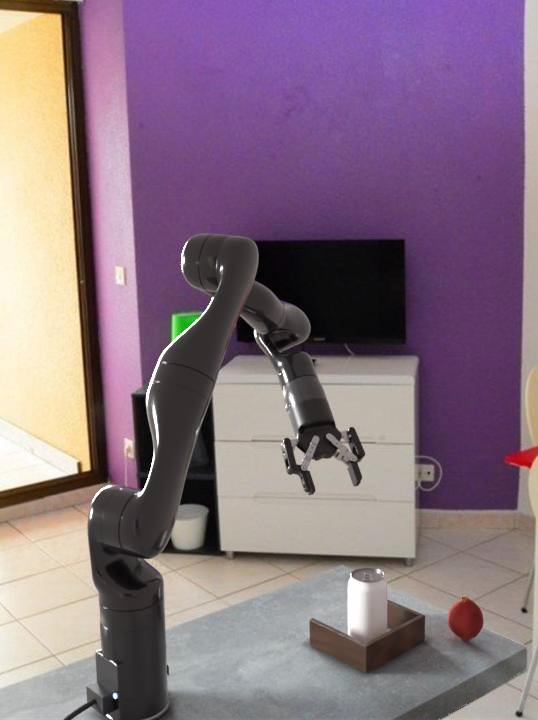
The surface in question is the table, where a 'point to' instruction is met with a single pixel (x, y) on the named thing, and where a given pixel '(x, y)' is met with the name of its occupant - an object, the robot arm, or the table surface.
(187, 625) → the table surface
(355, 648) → the frame
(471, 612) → the onion
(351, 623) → the can
